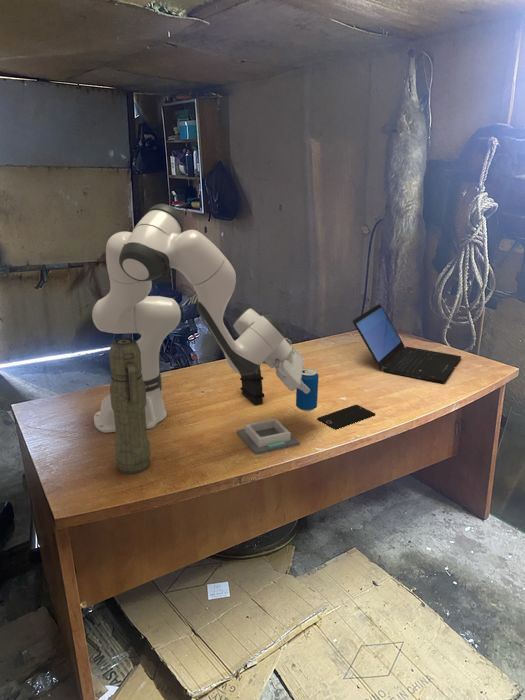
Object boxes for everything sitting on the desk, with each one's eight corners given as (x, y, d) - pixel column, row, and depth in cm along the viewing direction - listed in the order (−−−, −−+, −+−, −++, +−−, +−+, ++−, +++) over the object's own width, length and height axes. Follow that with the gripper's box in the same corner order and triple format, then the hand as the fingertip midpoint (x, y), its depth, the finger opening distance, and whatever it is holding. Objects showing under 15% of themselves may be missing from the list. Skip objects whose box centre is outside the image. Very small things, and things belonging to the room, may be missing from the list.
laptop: (443, 385, 198) (450, 336, 191) (348, 366, 215) (351, 320, 209) (461, 359, 225) (468, 314, 218) (375, 344, 242) (379, 302, 236)
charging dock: (255, 454, 149) (255, 444, 148) (236, 432, 161) (236, 422, 160) (299, 444, 154) (299, 434, 153) (278, 424, 166) (278, 414, 165)
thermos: (127, 480, 136) (116, 351, 125) (109, 460, 145) (97, 338, 134) (159, 469, 141) (151, 344, 130) (139, 450, 150) (130, 332, 139)
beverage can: (303, 400, 168) (305, 365, 164) (321, 406, 164) (322, 370, 160) (291, 408, 163) (292, 371, 159) (309, 414, 160) (310, 377, 155)
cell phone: (316, 420, 170) (316, 417, 170) (356, 406, 180) (356, 404, 180) (335, 431, 163) (335, 428, 163) (375, 416, 173) (376, 413, 173)
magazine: (258, 404, 176) (249, 360, 177) (243, 406, 188) (235, 364, 189) (268, 402, 177) (260, 358, 178) (252, 404, 189) (245, 362, 190)
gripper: (282, 360, 148) (315, 394, 151) (288, 336, 167) (317, 367, 170) (266, 374, 150) (299, 407, 153) (273, 348, 169) (303, 379, 172)
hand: (309, 386), depth 161 cm, fingers closed on beverage can, 6 cm apart
